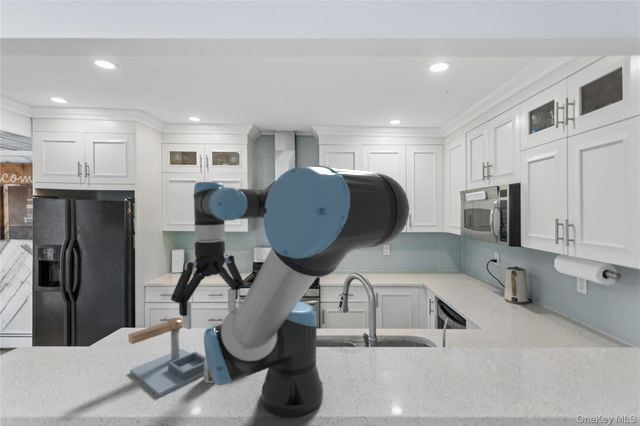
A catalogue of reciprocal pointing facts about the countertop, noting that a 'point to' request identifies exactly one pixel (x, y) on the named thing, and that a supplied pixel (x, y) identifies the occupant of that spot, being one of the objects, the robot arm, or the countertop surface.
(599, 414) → the countertop surface
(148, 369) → the board
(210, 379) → the pill bottle
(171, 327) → the lever
